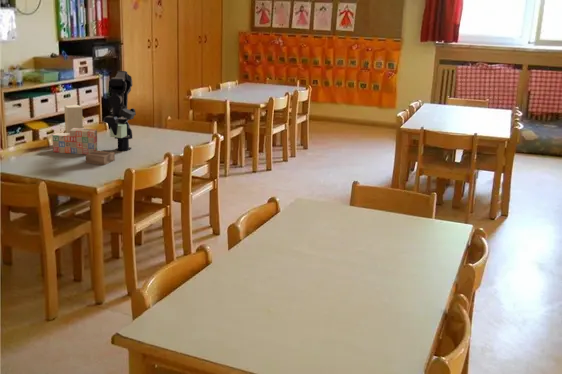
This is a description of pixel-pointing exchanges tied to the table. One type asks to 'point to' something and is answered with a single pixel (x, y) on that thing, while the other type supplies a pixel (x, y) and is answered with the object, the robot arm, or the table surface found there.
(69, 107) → the beige wooden block
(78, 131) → the stack of blocks
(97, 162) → the walnut base
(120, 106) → the robot arm
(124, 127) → the green cube
